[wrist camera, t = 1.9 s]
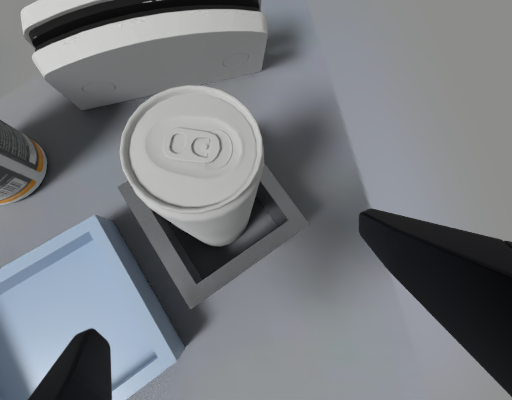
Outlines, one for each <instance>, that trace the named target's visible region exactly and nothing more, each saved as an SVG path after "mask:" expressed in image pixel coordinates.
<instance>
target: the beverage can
mask: <svg viewBox="0 0 512 400" xmlns="http://www.w3.org/2000/svg"><path fill="white" fill-rule="evenodd" d="M120 157H121V163H122V169H123V171H124V173H125V175H126V177H127V179H128V181H129V183H130V185H131V186H132V187H133V189H134V191H135V193H136V194H137V195H138V197H139V198H140V199H141V200H142V201H143V202H144V203H145V204H146V205H147V206H148V207H149V208H150V209H152V210H153V211H155V212H156V213H158V214H159V215H161V216H162V217H164V218H165V219H167V220H168V221H169V222H171V223H172V224H174V225H175V226H177V227H179V228H180V229H182V230H183V231H185V232H187V233H188V234H190V235H192V236H194V237H195V238H197V239H198V240H200V241H201V242H203V243H205V244H207V245H210V246H224V245H228V244H230V243H232V242H234V241H236V240H237V239H238V238H239V237H240V236H241V235H242V234H243V232H244V231H245V229H246V227H247V224H248V221H249V217H250V214H251V210H252V207H253V203H254V200H255V196H256V193H257V189H258V186H259V182H260V178H261V175H262V171H263V167H264V147H263V144H262V136H261V133H260V130H259V126H258V123H257V121H256V120H255V118H254V117H253V115H252V114H251V112H250V111H249V109H248V108H247V107H245V106H244V105H243V104H242V103H241V102H240V101H239V100H238V99H237V98H235V97H233V96H231V95H229V94H227V93H226V92H224V91H222V90H218V89H215V88H211V87H207V86H196V85H186V86H180V87H174V88H170V89H167V90H165V91H163V92H160V93H158V94H155V95H154V96H152V97H151V98H149V99H148V100H147V101H145V102H144V103H142V104H141V105H140V106H139V107H138V108H137V110H136V111H135V112H134V113H133V114H132V116H131V117H130V118H129V120H128V122H127V124H126V126H125V129H124V131H123V133H122V137H121V145H120Z"/></svg>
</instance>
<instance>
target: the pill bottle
mask: <svg viewBox="0 0 512 400" xmlns="http://www.w3.org/2000/svg"><path fill="white" fill-rule="evenodd" d="M46 169H47V159H46V155H45V153H44V151H43V149H42V148H41V147H40V146H39V145H38V144H37V143H36V142H35V141H33V140H32V139H30V138H29V137H27V136H26V135H24V134H23V133H21V132H19V131H17V130H16V129H14V128H13V127H11V126H9V125H8V124H6V123H4V122H3V121H1V120H0V205H4V204H9V203H13V202H16V201H19V200H21V199H23V198H25V197H27V196H28V195H30V194H31V193H32V192H33V191H34V190H35V189H36V188H38V186H39V185H40V183H41V182H42V180H43V179H44V176H45V174H46Z"/></svg>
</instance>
